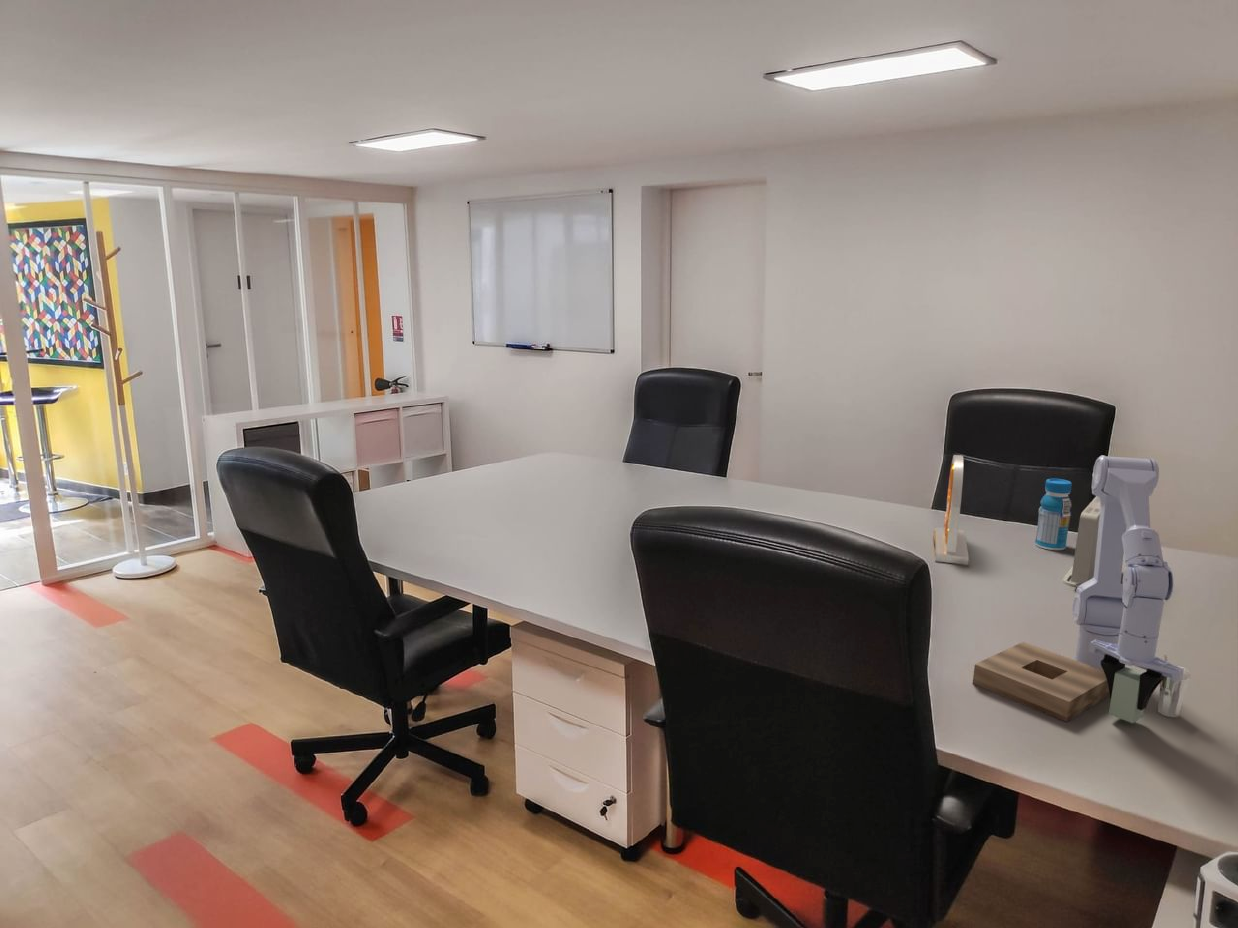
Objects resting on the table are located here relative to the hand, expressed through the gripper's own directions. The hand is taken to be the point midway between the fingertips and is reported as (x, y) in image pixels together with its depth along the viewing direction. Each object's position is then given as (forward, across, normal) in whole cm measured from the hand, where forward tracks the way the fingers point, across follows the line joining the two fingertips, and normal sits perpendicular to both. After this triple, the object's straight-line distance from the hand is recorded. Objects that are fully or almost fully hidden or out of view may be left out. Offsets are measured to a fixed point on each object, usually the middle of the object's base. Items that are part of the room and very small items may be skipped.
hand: (1127, 702), depth 151 cm
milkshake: (+4, +3, +10) cm, 11 cm away
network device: (+4, -40, +72) cm, 82 cm away
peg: (+2, 0, 0) cm, 2 cm away
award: (+4, -75, +64) cm, 99 cm away
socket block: (+4, -15, 0) cm, 15 cm away
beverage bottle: (+4, -59, +91) cm, 109 cm away
